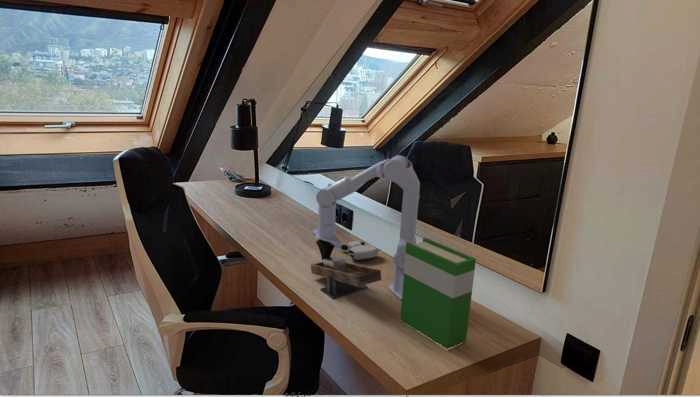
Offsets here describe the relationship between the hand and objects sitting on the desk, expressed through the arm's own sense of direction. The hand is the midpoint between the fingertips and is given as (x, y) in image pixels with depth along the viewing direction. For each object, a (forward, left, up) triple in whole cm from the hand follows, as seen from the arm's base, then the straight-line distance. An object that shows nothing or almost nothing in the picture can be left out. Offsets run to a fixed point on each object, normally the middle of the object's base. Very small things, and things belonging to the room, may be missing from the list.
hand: (325, 260), depth 157 cm
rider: (-5, -1, -2) cm, 6 cm away
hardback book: (-42, -17, -6) cm, 45 cm away
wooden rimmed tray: (-11, -3, -2) cm, 11 cm away
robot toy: (+14, -19, -6) cm, 24 cm away
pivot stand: (-11, -3, -6) cm, 13 cm away
